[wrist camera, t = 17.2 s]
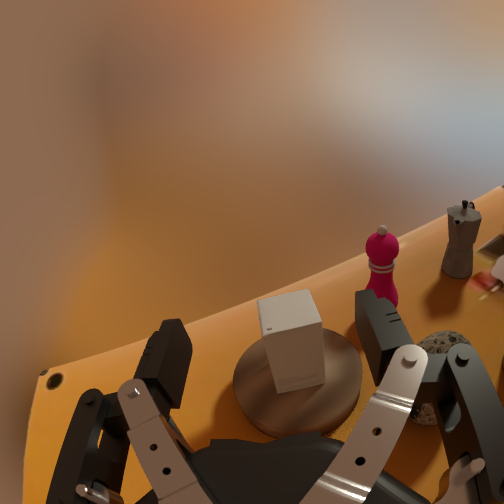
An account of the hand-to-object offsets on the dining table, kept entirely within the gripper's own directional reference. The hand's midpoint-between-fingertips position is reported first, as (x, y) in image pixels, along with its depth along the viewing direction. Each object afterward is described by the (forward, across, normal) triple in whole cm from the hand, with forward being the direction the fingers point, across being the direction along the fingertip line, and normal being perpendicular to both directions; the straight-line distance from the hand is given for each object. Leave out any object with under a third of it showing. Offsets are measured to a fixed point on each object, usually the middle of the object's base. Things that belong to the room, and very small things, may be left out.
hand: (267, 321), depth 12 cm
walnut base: (+18, 0, +32) cm, 37 cm away
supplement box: (+18, 0, +27) cm, 33 cm away
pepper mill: (+31, -18, +32) cm, 48 cm away
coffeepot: (+41, -45, +32) cm, 69 cm away
